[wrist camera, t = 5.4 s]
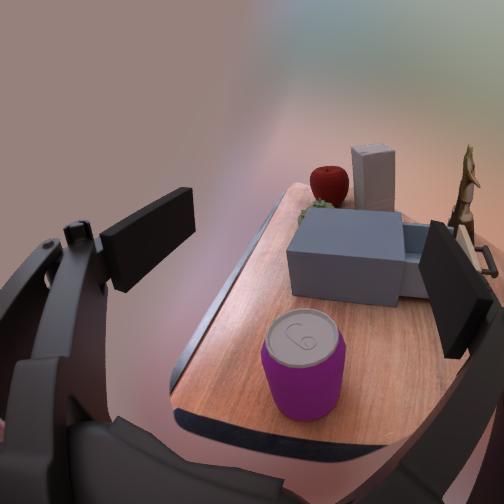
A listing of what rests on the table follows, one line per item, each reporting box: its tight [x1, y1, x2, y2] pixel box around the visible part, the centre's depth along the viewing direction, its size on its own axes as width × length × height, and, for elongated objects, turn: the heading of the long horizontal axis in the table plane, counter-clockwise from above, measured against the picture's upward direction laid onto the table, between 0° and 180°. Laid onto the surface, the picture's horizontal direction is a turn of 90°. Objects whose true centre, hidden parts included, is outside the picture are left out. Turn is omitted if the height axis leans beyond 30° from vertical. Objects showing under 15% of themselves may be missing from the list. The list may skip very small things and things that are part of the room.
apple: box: [310, 166, 349, 207], centre depth 64 cm, size 10×10×10 cm
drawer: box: [399, 222, 499, 298], centre depth 36 cm, size 20×12×7 cm, turn 66°
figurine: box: [448, 145, 480, 247], centre depth 39 cm, size 5×8×20 cm, turn 22°
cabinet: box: [286, 207, 405, 307], centre depth 42 cm, size 17×14×9 cm
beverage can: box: [261, 308, 346, 421], centre depth 25 cm, size 8×8×12 cm
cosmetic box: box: [351, 143, 395, 212], centre depth 56 cm, size 8×7×16 cm
